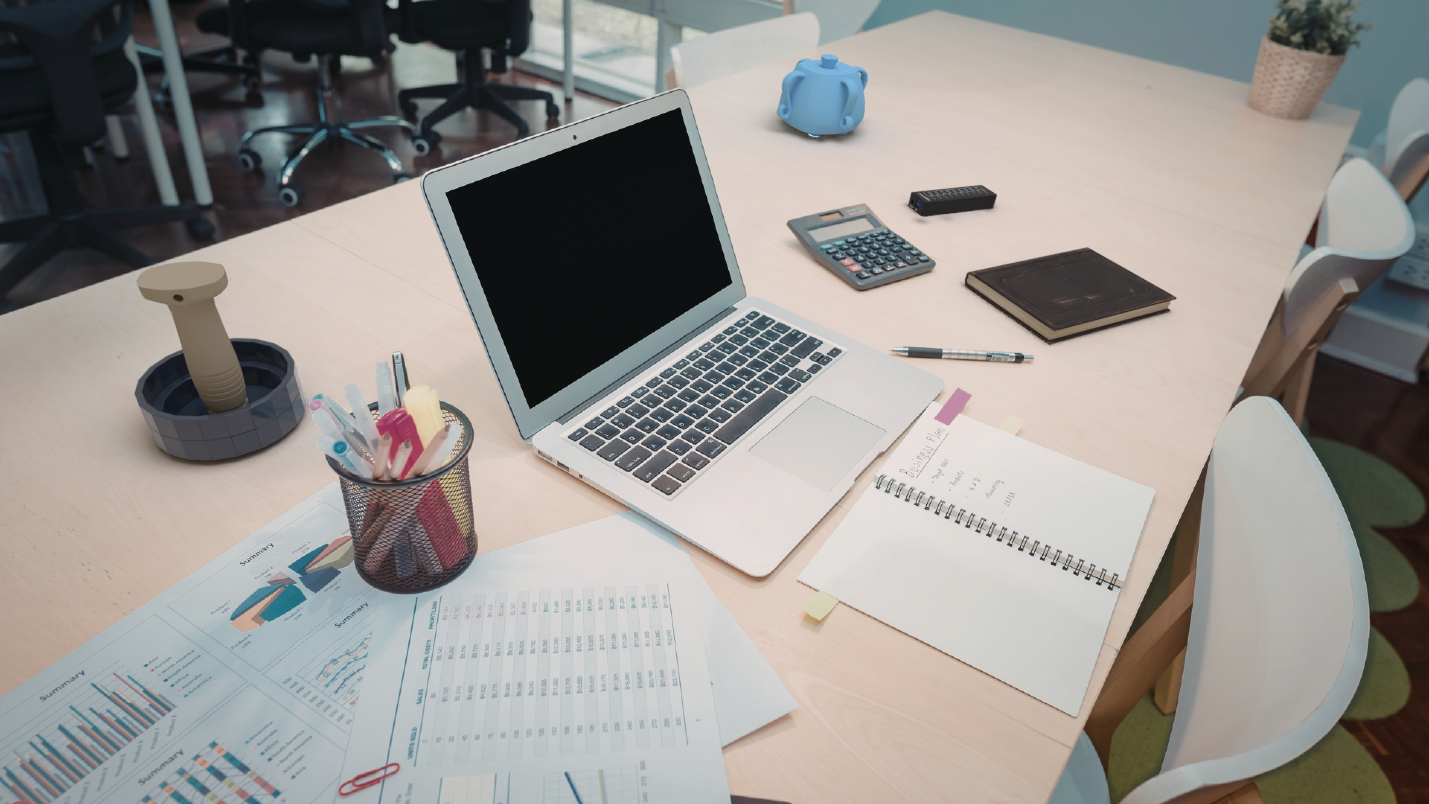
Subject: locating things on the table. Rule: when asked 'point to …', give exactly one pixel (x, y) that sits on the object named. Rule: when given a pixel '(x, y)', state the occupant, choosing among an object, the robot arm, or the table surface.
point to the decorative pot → (823, 96)
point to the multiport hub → (952, 200)
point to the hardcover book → (1068, 294)
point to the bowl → (231, 434)
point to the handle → (199, 328)
